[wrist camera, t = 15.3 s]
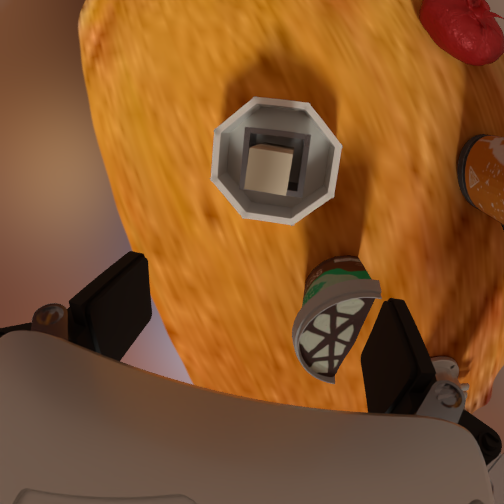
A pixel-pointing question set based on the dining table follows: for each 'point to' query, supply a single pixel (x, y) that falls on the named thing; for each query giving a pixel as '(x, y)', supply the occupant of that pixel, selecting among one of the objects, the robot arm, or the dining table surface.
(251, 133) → the hollow square tube
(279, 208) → the white octagonal tray
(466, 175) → the canister
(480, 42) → the pomegranate
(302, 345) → the food container
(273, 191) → the grey rectangular block
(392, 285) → the dining table surface
